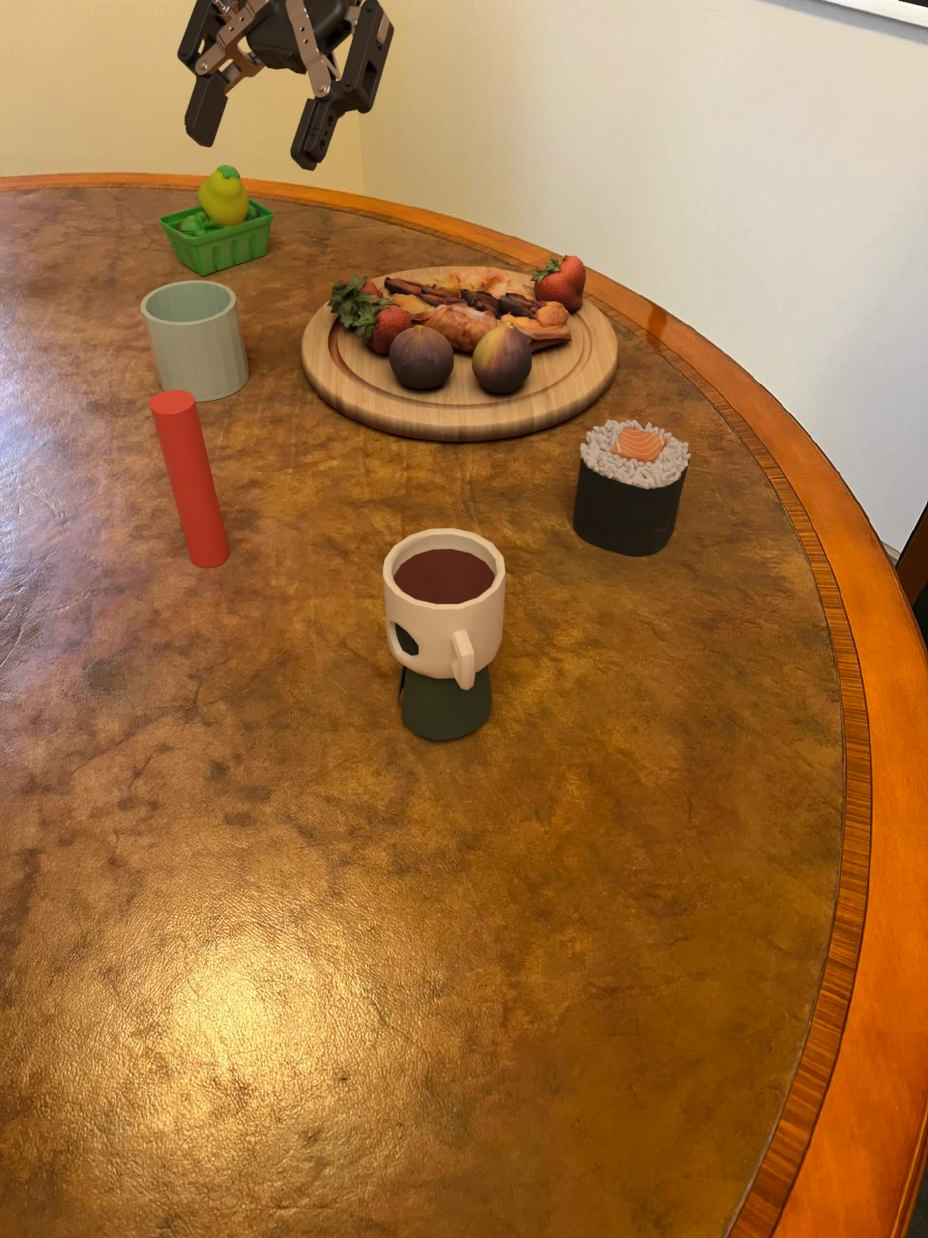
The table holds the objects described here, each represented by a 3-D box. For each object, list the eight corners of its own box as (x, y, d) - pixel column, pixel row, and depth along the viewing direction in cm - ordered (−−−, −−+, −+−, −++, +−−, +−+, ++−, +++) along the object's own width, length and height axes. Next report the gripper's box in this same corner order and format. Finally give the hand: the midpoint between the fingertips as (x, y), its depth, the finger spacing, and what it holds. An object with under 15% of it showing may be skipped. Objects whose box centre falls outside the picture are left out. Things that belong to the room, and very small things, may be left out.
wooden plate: (547, 268, 109) (552, 196, 103) (673, 413, 88) (689, 333, 82) (275, 307, 102) (264, 231, 96) (342, 475, 80) (333, 392, 75)
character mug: (376, 660, 66) (365, 517, 56) (474, 642, 67) (478, 499, 58) (411, 786, 58) (404, 645, 49) (519, 762, 60) (532, 621, 50)
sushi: (592, 482, 80) (603, 402, 75) (686, 509, 78) (705, 429, 72) (557, 536, 75) (566, 455, 69) (656, 568, 73) (674, 486, 67)
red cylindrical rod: (186, 567, 72) (144, 413, 62) (195, 542, 74) (155, 388, 64) (225, 568, 72) (189, 413, 62) (232, 543, 74) (198, 389, 64)
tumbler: (150, 401, 88) (129, 323, 83) (171, 354, 94) (153, 279, 89) (240, 403, 88) (225, 325, 83) (256, 356, 94) (243, 280, 89)
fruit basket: (246, 234, 115) (231, 136, 107) (288, 258, 110) (275, 158, 102) (164, 261, 109) (141, 160, 101) (204, 288, 105) (184, 184, 97)
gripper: (208, -146, 59) (128, 102, 60) (400, -128, 55) (310, 140, 56) (270, -59, 66) (197, 162, 67) (445, -37, 62) (363, 200, 63)
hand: (248, 152), depth 61 cm, fingers open, 8 cm apart
